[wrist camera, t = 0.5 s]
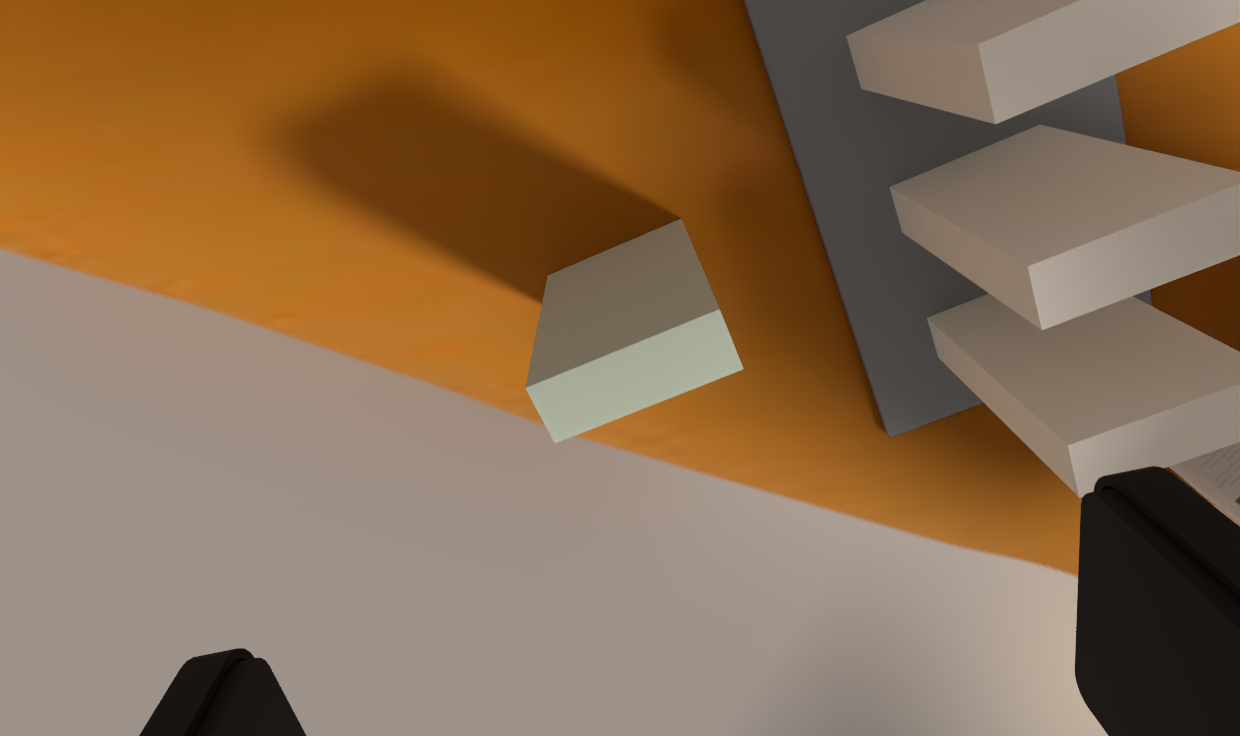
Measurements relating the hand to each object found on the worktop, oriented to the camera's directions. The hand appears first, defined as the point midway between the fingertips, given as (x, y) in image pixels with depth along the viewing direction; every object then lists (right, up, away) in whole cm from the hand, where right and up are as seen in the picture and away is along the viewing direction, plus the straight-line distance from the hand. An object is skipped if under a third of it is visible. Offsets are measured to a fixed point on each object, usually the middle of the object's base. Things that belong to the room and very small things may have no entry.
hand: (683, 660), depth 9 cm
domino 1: (-1, +8, +24) cm, 25 cm away
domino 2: (+11, +16, +20) cm, 28 cm away
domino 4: (+15, +6, +24) cm, 30 cm away
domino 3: (+13, +11, +22) cm, 28 cm away
